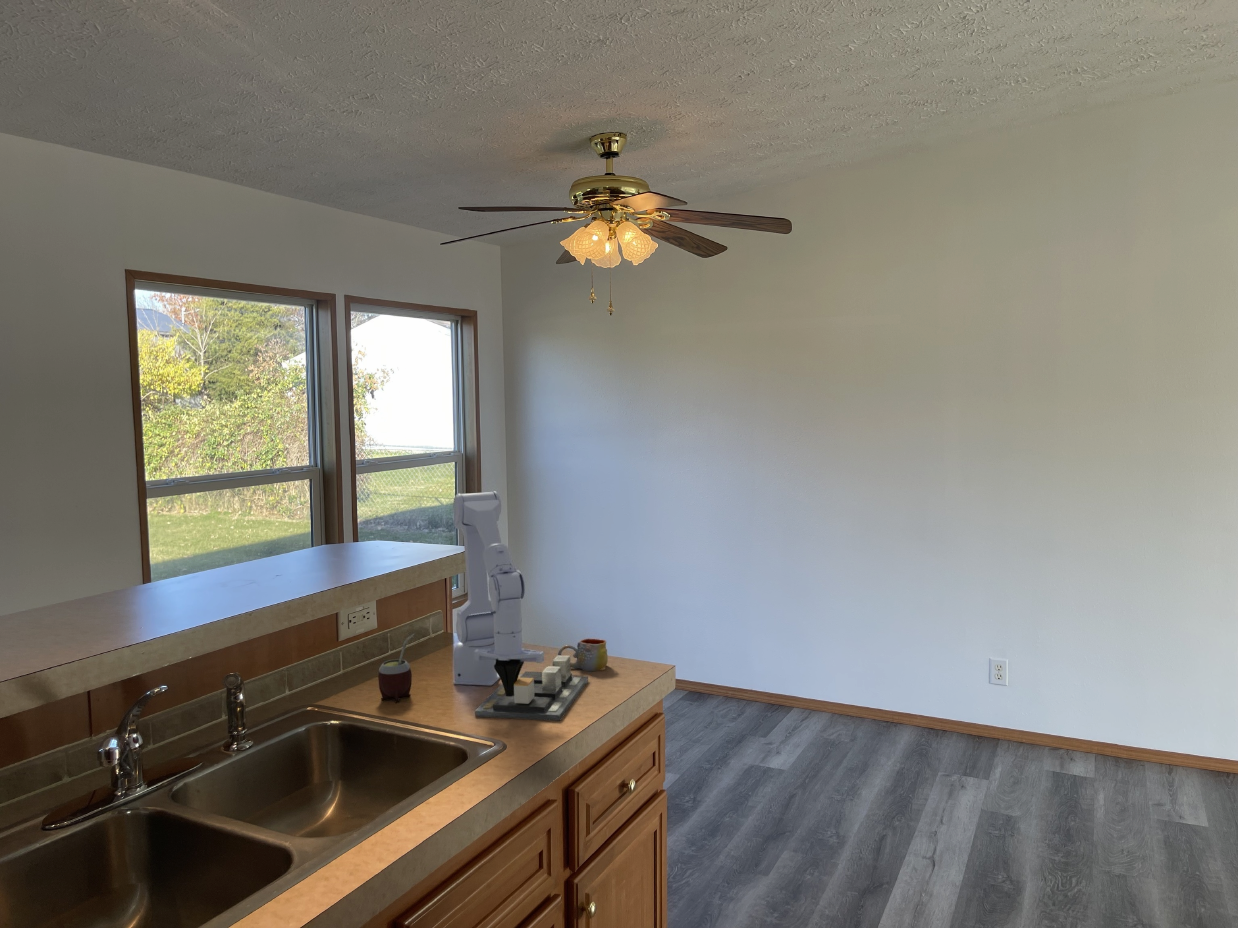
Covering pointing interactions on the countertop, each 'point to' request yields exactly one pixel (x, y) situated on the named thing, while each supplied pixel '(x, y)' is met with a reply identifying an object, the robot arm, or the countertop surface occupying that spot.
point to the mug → (589, 654)
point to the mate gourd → (395, 678)
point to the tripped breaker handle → (524, 690)
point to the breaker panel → (538, 695)
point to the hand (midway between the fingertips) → (510, 694)
